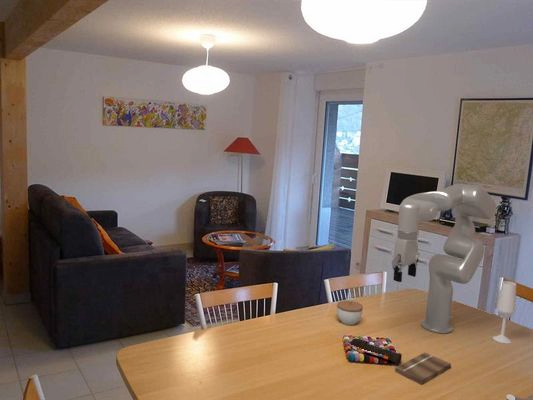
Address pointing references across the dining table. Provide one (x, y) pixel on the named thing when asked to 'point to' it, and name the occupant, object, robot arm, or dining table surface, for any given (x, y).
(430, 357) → the board
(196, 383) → the dining table surface
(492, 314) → the dining table surface
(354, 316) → the lidded jar
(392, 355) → the hand tool
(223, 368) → the dining table surface
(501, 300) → the champagne flute
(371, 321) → the dining table surface
